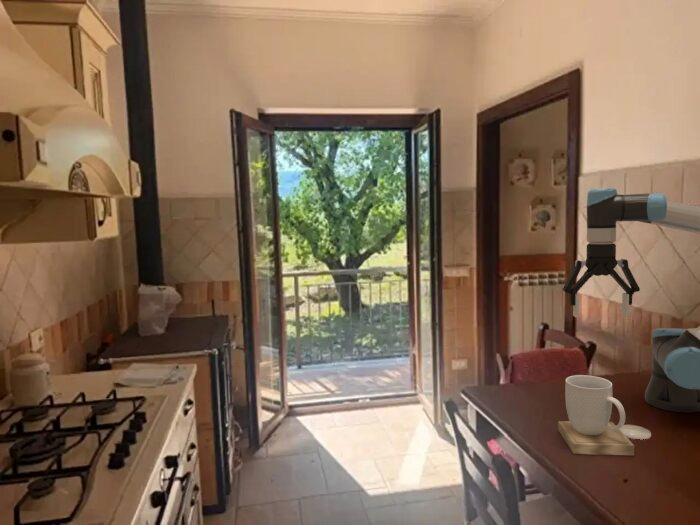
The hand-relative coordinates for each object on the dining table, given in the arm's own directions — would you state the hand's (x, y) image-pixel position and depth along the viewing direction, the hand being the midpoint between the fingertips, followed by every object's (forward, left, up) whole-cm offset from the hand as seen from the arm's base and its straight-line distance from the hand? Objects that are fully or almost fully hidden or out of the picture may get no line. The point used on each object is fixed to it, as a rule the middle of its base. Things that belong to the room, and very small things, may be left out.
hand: (600, 316), depth 148 cm
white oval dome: (-4, +14, -29) cm, 33 cm away
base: (+8, +20, -29) cm, 36 cm away
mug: (+9, +20, -26) cm, 34 cm away
